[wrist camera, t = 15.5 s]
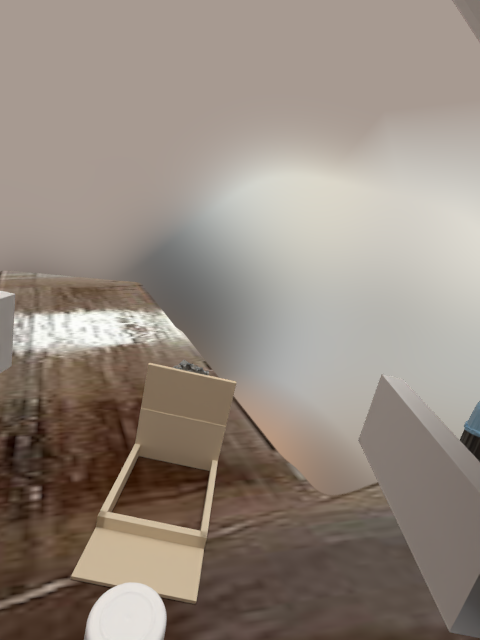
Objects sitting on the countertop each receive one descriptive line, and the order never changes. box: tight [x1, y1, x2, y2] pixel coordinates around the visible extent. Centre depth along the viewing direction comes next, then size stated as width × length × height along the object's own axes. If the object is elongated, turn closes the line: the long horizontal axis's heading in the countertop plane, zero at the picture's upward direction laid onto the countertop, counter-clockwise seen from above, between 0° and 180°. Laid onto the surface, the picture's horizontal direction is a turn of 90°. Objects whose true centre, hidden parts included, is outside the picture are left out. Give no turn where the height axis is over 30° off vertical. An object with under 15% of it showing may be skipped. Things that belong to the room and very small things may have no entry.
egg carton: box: [173, 360, 209, 375], centre depth 80 cm, size 11×8×4 cm
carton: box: [71, 363, 236, 604], centre depth 44 cm, size 21×13×15 cm, turn 178°
